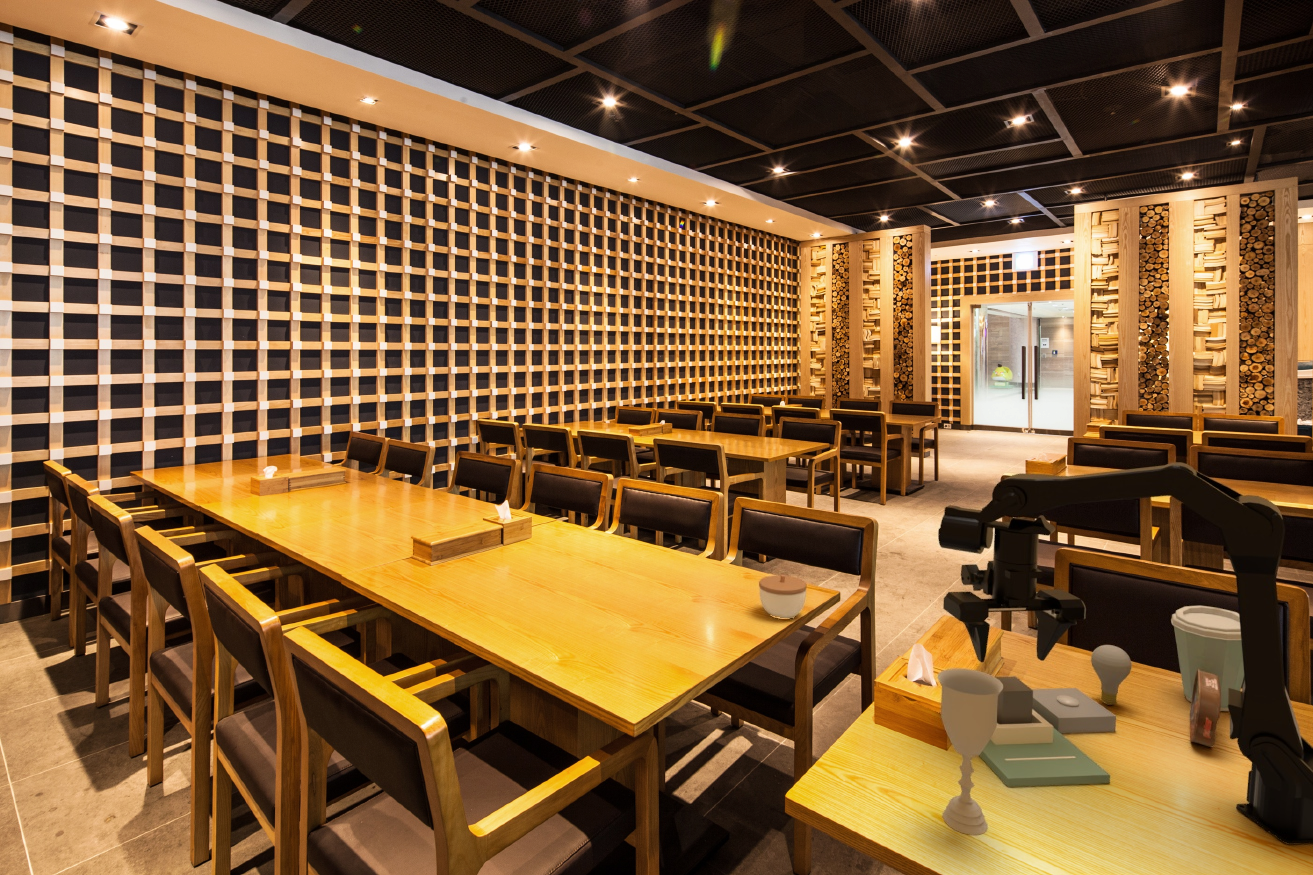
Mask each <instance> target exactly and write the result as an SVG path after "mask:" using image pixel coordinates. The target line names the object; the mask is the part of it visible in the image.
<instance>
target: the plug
mask: <svg viewBox="0 0 1313 875" xmlns="http://www.w3.org/2000/svg"><path fill="white" fill-rule="evenodd" d="M994 677H995V678H997V679H998V680H1000V682H1001V683H1002V684H1003V689H1002V691H1001V692H1000V694H999V695H998V703H997V723H998V724H1028V723H1032V705H1033V690H1032V689H1033V688H1031V687H1029V686H1028V685H1027V684H1026V683H1024V682H1023V681H1022V680H1021V679H1019V678H1018V677H1017V676H1015V675H1014V676H1013V675H1012V676H994Z"/></svg>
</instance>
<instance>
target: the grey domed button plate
mask: <svg viewBox="0 0 1313 875" xmlns="http://www.w3.org/2000/svg"><path fill="white" fill-rule="evenodd" d="M1031 689H1032V690H1033V705H1032V709H1033V710H1034V711H1035V712H1037V713H1038V714H1039V715H1040V716H1041V717H1043V718H1044V719H1045V720H1046V721H1047V722H1049V723H1050V724H1051V725H1052V726H1053V728H1055V729H1056V730H1057V731H1058V732H1059V733H1061V734H1062V735H1063V734H1083V733H1084V734H1085V733H1086V734H1087V733H1091V734H1092V733H1112V732H1113V733H1115V732H1116V728H1117V727H1116V726H1117V715H1115V714H1114V713H1112V712H1111V711H1110V710H1108V709H1107V708H1105V707H1104V706H1103V705H1101V704H1100V703H1098V702H1097V701H1096V700H1094V699H1092V698H1091V697H1090V696H1088V695H1087V694H1086V693H1084V692H1083V691H1081V690H1080V689H1078V688H1077V687H1064V688H1061V687H1059V688H1031Z"/></svg>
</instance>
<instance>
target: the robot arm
mask: <svg viewBox="0 0 1313 875" xmlns="http://www.w3.org/2000/svg"><path fill="white" fill-rule="evenodd" d="M991 497H992V500H991V501H990V502H989V503H988V504H987V505H985V506H983V507H982V508H981V509H976V508H975V509H973V508H968V507H967V508H965V507H962V506H958V505H951V504H950V505H947V506H945V507H944V511H943V512H944V514H943V516H942V518H941V520H940V527H939V528H938V531H937V532H938V533H937V534H938V535H937V536H938V544H939V546H940V548H942V549H948V550H953V551H959V552H966V553H972V554H977V555H978V554H979V555H982V553H983V552H984V550H985V549H990V548H991V547H992V544H993V559H992V560H988V561H987V563H986V564H987V565H986V569H980V568H979V566H978V564H976V563H974V564H961V568H960V579H961V583H962V584H963V586H972V591H974V592H980V591H982V594H984V595H986V596H991V598H981V597H979V596H978V595H976V594H975V593H974V592H971V591H948V592H947V593H946V594H945V596H944V597H943V606H942V607H943V608H942V609H943V610H944V611H946V612H947V613H948V614H950V615H951V616H953V617H954V618H955V619H957V620H958V621H959V622H962V623H963V625H964V626H965V629H966V630H967V633H968V635H969V639H970V640H971V643H972V646H973V649H974V652H975V656H976V659H977V660H978V662H980V663H984V662H985V660H986V657H987V649H988V642H989V636H990V626H991V625H990V623H988V622H987V621H986V620H987V619H988V618H989V615H990V614H989V613H1001V612H1002V613H1003V612H1004V613H1005V612H1006V613H1007V612H1034V613H1035V617H1036V620H1037V634H1036V658H1037V659H1038V660H1040V661H1041V662H1042V661H1043V662H1044V661H1045V660H1046V658H1047V656H1049V654H1050V652H1051V651H1052V650H1053V648H1054V647H1055V645H1056V644H1057V643H1058V642H1059V640H1060V639H1061V638H1062V636H1063V635H1064V634H1066V632H1067V631H1068V630H1069V628H1070V627H1071V626H1075V625H1077V621H1078V620H1082V621H1083V620H1085V619H1086V611H1087V608H1086V605H1085V603H1084V601H1083V600H1082V599H1081V598H1079V597H1078V596H1075V595H1073V594H1071V593H1069V592H1067V591H1066V590H1064V589H1061V588H1058V589H1057V588H1056V589H1055V588H1054V589H1039V590H1038V591H1037V579H1043V577H1044V576H1043V574H1044V573H1043V572H1044V571H1043V570H1041V569H1039V568H1038V559H1039V558H1038V557H1039V556H1038V555H1039V536H1040V535H1041V536H1051V535H1052V534H1053V533H1054V532H1055V531H1056V527H1055V526H1054V525H1052V524H1051V522H1049V521H1048V520H1047V519H1046V518H1045V516H1044V515H1039V516H1038V517H1037V518H1036V519H1030V518H1029V519H1028V518H1023V517H1027V516H1031V515H1035V514H1039V513H1043V512H1046V511H1049V510H1054V509H1056V508H1059V507H1060V508H1061V507H1064V506H1069V505H1075V504H1076V505H1077V504H1086V503H1087V504H1089V503H1098V502H1099V503H1100V502H1110V501H1111V502H1112V501H1124V500H1133V499H1134V500H1135V499H1146V498H1156V497H1157V498H1158V497H1173V498H1174V499H1176V500H1178V501H1179V502H1181V503H1182V504H1183V505H1185V506H1186V507H1188V508H1189V509H1191V510H1192V511H1194V512H1195V513H1196V514H1198V515H1199V516H1200V517H1202V518H1203V519H1205V520H1207V521H1208V522H1210V523H1212V524H1213V525H1215V526H1217V527H1219V531H1220V533H1221V537H1222V540H1223V544H1224V546H1225V550H1226V553H1227V556H1228V558H1229V562H1230V564H1231V567H1232V569H1233V571H1234V575H1235V581H1236V592H1237V593H1236V594H1237V603H1238V604H1237V606H1238V614H1239V618H1240V630H1241V642H1242V654H1243V666H1244V678H1243V683H1242V687H1241V690H1240V691H1238V690H1235V689H1231V688H1228V709H1229V711H1228V712H1229V738H1230V739H1231V740H1236V739H1237V746H1238V749H1239V751H1240V752H1241V754H1242V756H1244V757H1245V758H1246V759H1247V760H1249V761H1250V762H1251V768H1250V770H1249V771H1248V777H1247V788H1246V801H1247V803H1236V807H1235V809H1236V810H1237V811H1239V812H1240V813H1242V814H1243V815H1245V817H1247V818H1248V819H1250V820H1251V821H1253V822H1254V823H1256V824H1257V825H1258V826H1259V827H1261V828H1262V829H1264V830H1266V831H1267V832H1268V833H1269V834H1272V836H1274V837H1275V838H1277V840H1279V841H1281V842H1283V843H1284V844H1287V845H1297V844H1298V845H1300V844H1301V845H1302V844H1313V746H1312V745H1311V743H1309V742H1308V741H1307V739H1305V738H1304V737H1303V736H1302V735H1301V732H1300V727H1299V724H1298V720H1297V717H1296V715H1295V711H1294V708H1293V706H1292V705H1293V704H1292V702H1291V699H1290V697H1289V693H1288V691H1287V687H1286V684H1285V682H1286V681H1285V673H1284V660H1283V658H1284V657H1283V648H1282V647H1283V646H1282V638H1281V637H1282V635H1281V624H1280V613H1279V612H1280V611H1279V600H1278V598H1279V597H1278V587H1277V576H1278V573H1279V572H1278V571H1279V566H1280V563H1281V558H1282V553H1283V547H1284V541H1285V536H1286V535H1285V534H1286V524H1285V522H1284V521H1285V520H1284V519H1283V516H1282V512H1281V510H1280V509H1279V507H1278V506H1277V505H1276V504H1275V503H1274V502H1272V501H1270V500H1269V499H1267V498H1265V497H1262V496H1259V495H1252V494H1246V495H1244V494H1242V493H1240V492H1239V491H1237V490H1235V489H1233V488H1231V487H1230V486H1228V485H1225V484H1223V483H1222V482H1219V481H1218V480H1215V479H1213V478H1211V477H1209V476H1208V475H1205V474H1203V473H1201V472H1200V471H1198V470H1196V469H1194V467H1193V466H1191V465H1189V464H1188V463H1185V462H1169V463H1168V464H1165V465H1164V464H1163V465H1158V466H1157V465H1156V466H1148V467H1140V468H1139V467H1138V468H1130V469H1120V470H1113V471H1112V470H1111V471H1105V472H1104V471H1103V472H1095V473H1094V472H1093V473H1086V474H1085V473H1084V474H1078V475H1053V474H1045V473H1016V474H1012V475H1011V476H1010V475H1009V476H1008V477H1006V478H1004V479H1002V480H1001V481H999V482H997V484H996V485H995V486H994V487H993V490H992V493H991ZM1005 517H1009V518H1011V519H1010V521H1001V520H1000V519H1002V518H1005Z"/></svg>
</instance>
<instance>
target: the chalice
mask: <svg viewBox="0 0 1313 875" xmlns="http://www.w3.org/2000/svg"><path fill="white" fill-rule="evenodd" d="M995 677H996V676H993V675H992V674H988V673H986V672H983V671H979V670H976V669H971V668H970V669H969V668H957V667H956V668H947V669H945V670H941V671H940V672H939V673H937V679H938V681H939V684H940V686H941V697H940V698H941V702H940V703H941V713H940V717H941V720H942V724H943V726H944V729H945V732H946V734H947V736H948V738H949V741H950V742H951V745H952V747H953V749H954V750H955V752H956V753H957V754H959V755H961V756H962V760H961V761H962V762H961V765H959V767H958V768H959V770H960V771H961V772H960V773H961V775H962V776H961V778H960V779H958V781H957V783H958V784H959V786H960V788H961V793H960V795H955V796H953V797H952V798H951V799H950V800H949V801H948V804H947V805H946V806H945V810H943V812H942V819H943V821H944V822H945V823H946V825H948V827H950V828H952V829H953V830H954V831H956V832H959V833H962V834H965V835H971V836H972V835H973V836H977V835H982V834H985V833H986V832H987V831H988V829H989V827H988V823H987V821H986V819H985V815H984V813H983V810H982V808H981V806H980V805H979V804H978V802H977V801H976V800H975V799H973V798H972V797H971V790H972V788H974V787H975V784H974V782H973V781H972V778H971V777H972V774H973V773H974V772H975V769H974V768H973V765H972V760H973V758H976V757H980V756H979V755H980V754H981V752H982V751H983V749H984V748H985V746H986V745H987V743H988V742H989V741H990V739H991V737H992V735H993V733H994V731H995V729H996V726H997V703H998V695H999V694H1000V692H1001V691H1002V689H1003V684H1002V683H1001V682H1000V680H998V679H997V678H995Z"/></svg>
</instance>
